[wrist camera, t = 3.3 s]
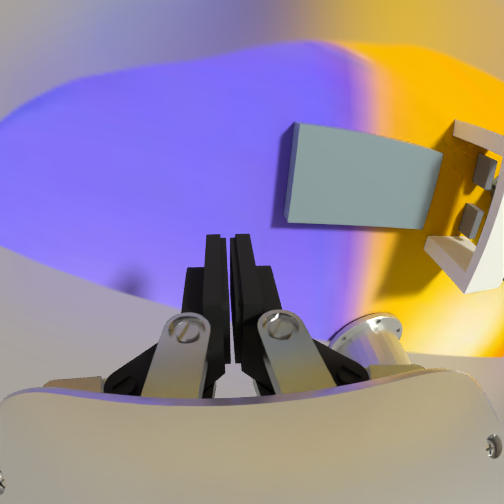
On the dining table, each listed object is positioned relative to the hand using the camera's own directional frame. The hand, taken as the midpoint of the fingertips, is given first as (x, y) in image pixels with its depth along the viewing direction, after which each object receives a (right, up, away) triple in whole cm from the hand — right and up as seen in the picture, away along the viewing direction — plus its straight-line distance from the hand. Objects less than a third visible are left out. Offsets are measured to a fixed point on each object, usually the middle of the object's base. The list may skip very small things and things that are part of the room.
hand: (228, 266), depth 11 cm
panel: (+12, +8, +15) cm, 21 cm away
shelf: (+27, +8, +16) cm, 32 cm away
